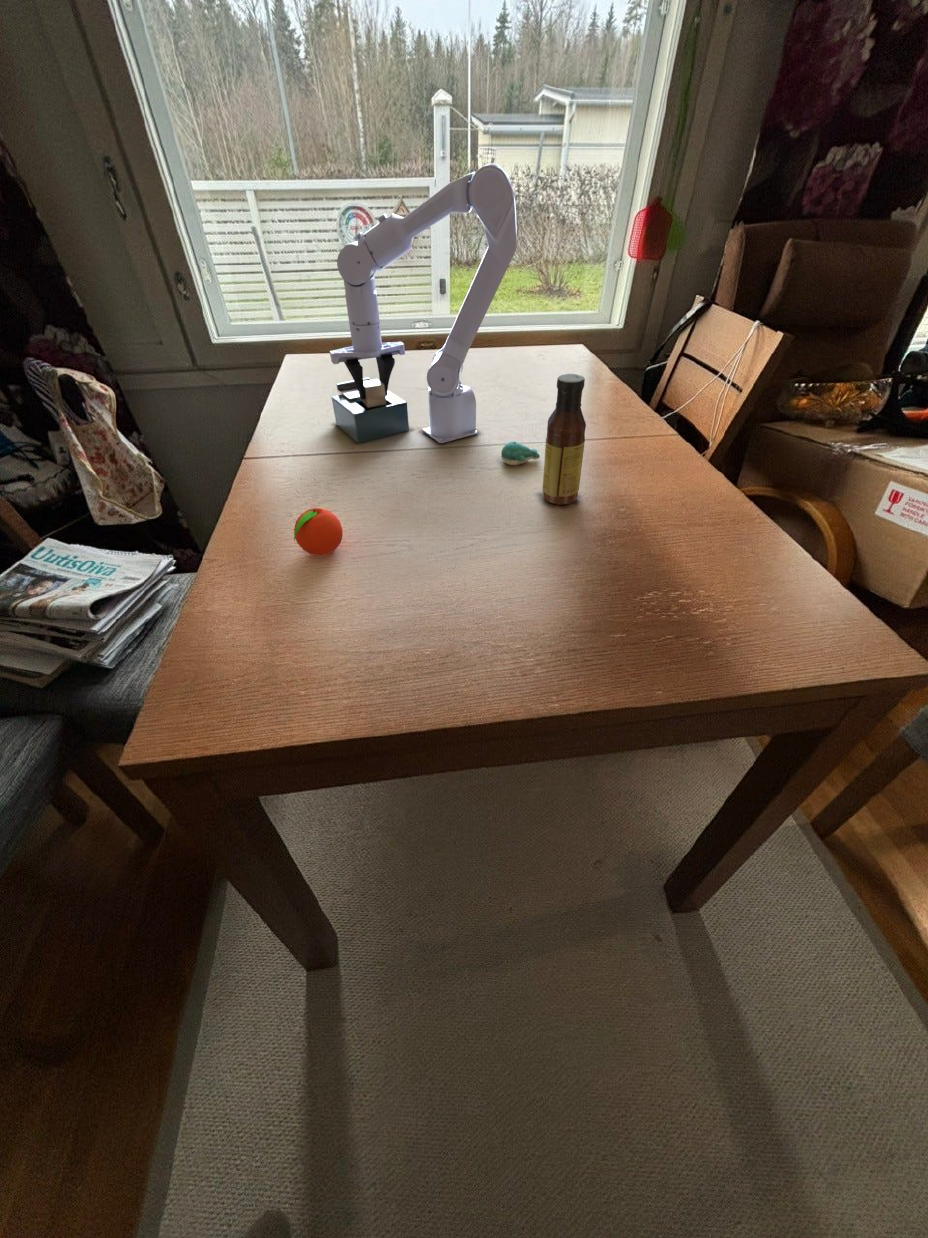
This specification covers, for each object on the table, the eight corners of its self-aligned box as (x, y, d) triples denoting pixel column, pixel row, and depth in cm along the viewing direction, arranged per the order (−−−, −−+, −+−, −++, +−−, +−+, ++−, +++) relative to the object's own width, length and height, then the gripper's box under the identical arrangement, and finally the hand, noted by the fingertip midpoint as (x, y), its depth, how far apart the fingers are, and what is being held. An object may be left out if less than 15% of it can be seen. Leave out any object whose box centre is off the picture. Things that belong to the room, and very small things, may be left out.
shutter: (369, 385, 113) (368, 377, 112) (382, 393, 109) (381, 385, 108) (337, 391, 110) (336, 383, 109) (349, 400, 106) (348, 392, 105)
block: (380, 398, 107) (378, 378, 104) (386, 404, 104) (384, 384, 101) (362, 401, 106) (359, 381, 103) (367, 407, 103) (365, 387, 100)
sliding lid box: (384, 412, 117) (381, 385, 113) (409, 430, 109) (407, 402, 105) (336, 424, 112) (331, 396, 108) (358, 443, 105) (354, 414, 101)
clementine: (319, 574, 72) (308, 532, 67) (284, 559, 75) (272, 517, 70) (355, 547, 77) (348, 506, 72) (322, 533, 80) (313, 493, 75)
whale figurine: (498, 455, 100) (499, 436, 98) (534, 453, 101) (536, 434, 98) (503, 469, 96) (504, 449, 93) (541, 466, 97) (543, 447, 94)
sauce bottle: (579, 492, 89) (600, 373, 76) (573, 509, 85) (593, 386, 71) (543, 486, 91) (557, 368, 77) (535, 503, 87) (548, 381, 73)
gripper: (331, 331, 90) (344, 408, 99) (408, 322, 94) (413, 396, 104) (322, 322, 94) (335, 396, 104) (395, 314, 99) (401, 386, 108)
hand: (373, 396), depth 104 cm, fingers closed on block, 4 cm apart
